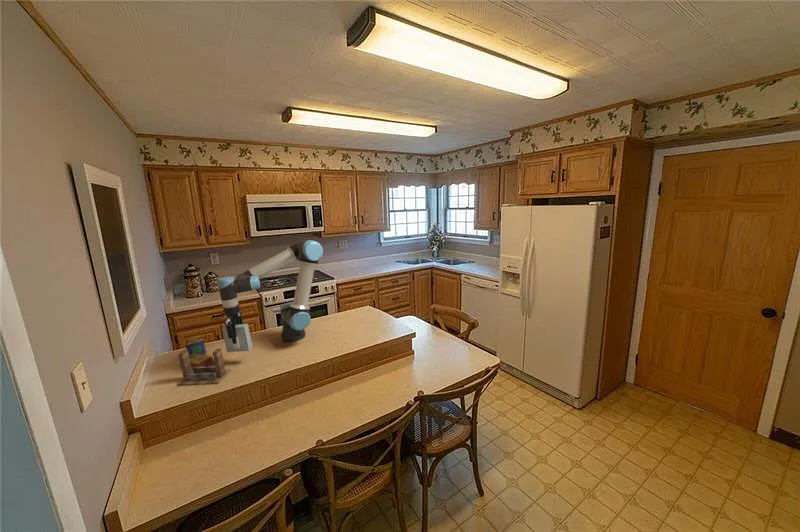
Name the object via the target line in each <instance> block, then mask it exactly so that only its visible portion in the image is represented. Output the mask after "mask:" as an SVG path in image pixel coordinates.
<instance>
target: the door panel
mask: <svg viewBox="0 0 800 532" xmlns="http://www.w3.org/2000/svg"><path fill="white" fill-rule="evenodd" d="M235 326H236V327H235V328H236V337H238V342H239V347H240V348H237V349H234V346H233V342H232V338H228V333H227V329H226V325H225V326H223V327H222V328H221V330H222V331H221V332H222V335H223V338H224V339H223V340H224V343H225V348H226V352H227V353H237V352H249V351H250V350H251V349H253V343H252V338H251V334H250V329H249V324H248V323H243V324H239V325H235Z"/></svg>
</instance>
